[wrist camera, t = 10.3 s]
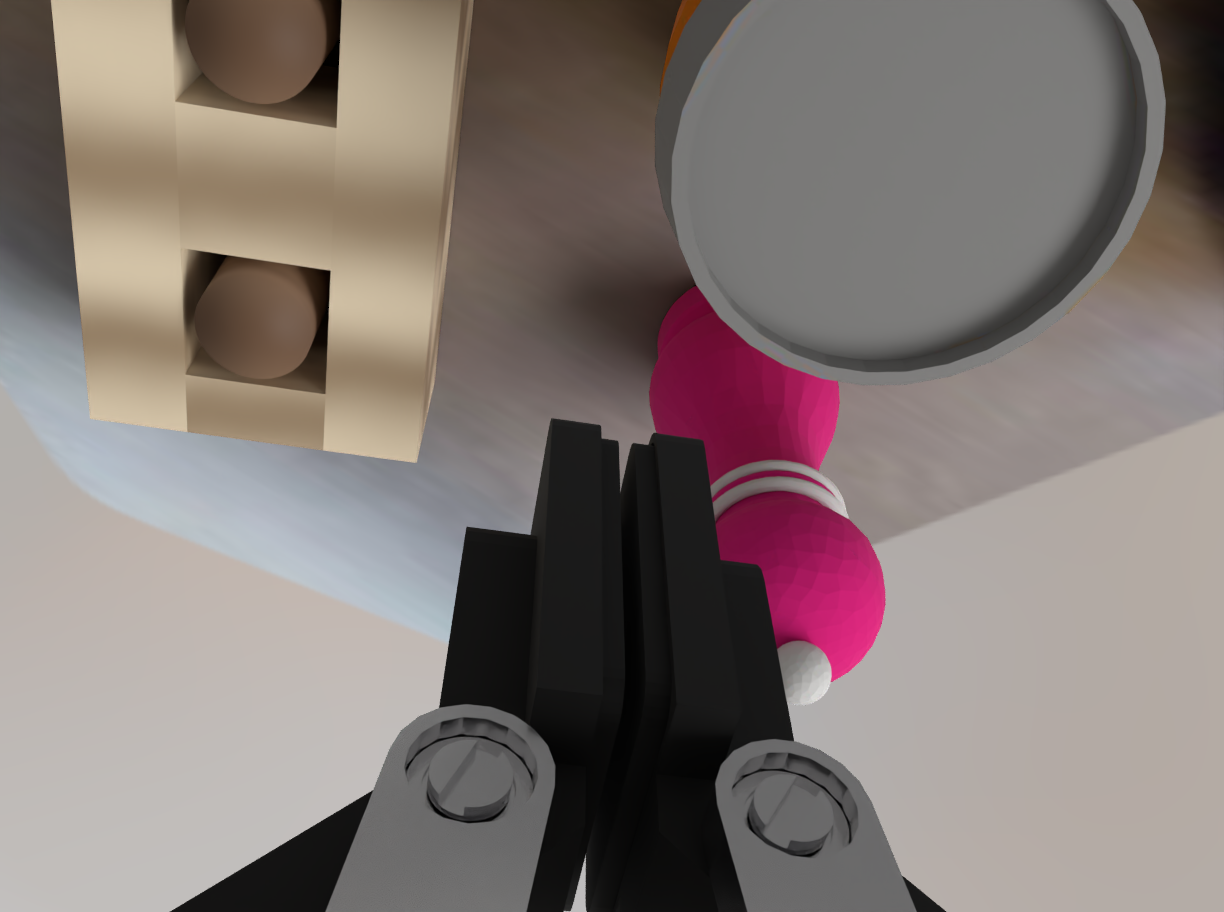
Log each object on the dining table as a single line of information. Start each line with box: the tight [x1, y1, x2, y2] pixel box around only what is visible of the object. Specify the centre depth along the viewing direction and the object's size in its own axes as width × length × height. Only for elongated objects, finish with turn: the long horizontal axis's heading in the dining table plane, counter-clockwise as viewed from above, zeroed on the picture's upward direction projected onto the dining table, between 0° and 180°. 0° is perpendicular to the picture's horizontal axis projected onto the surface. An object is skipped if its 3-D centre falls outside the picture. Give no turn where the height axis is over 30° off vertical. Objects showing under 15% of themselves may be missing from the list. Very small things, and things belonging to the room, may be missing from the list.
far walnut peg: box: [194, 255, 331, 379], centre depth 43 cm, size 4×4×6 cm
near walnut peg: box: [185, 0, 342, 104], centre depth 37 cm, size 4×4×6 cm
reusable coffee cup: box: [655, 0, 1166, 385], centre depth 35 cm, size 13×12×15 cm
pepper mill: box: [649, 285, 885, 705], centre depth 40 cm, size 7×7×20 cm
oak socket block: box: [51, 0, 474, 463], centre depth 40 cm, size 20×12×6 cm, turn 170°
